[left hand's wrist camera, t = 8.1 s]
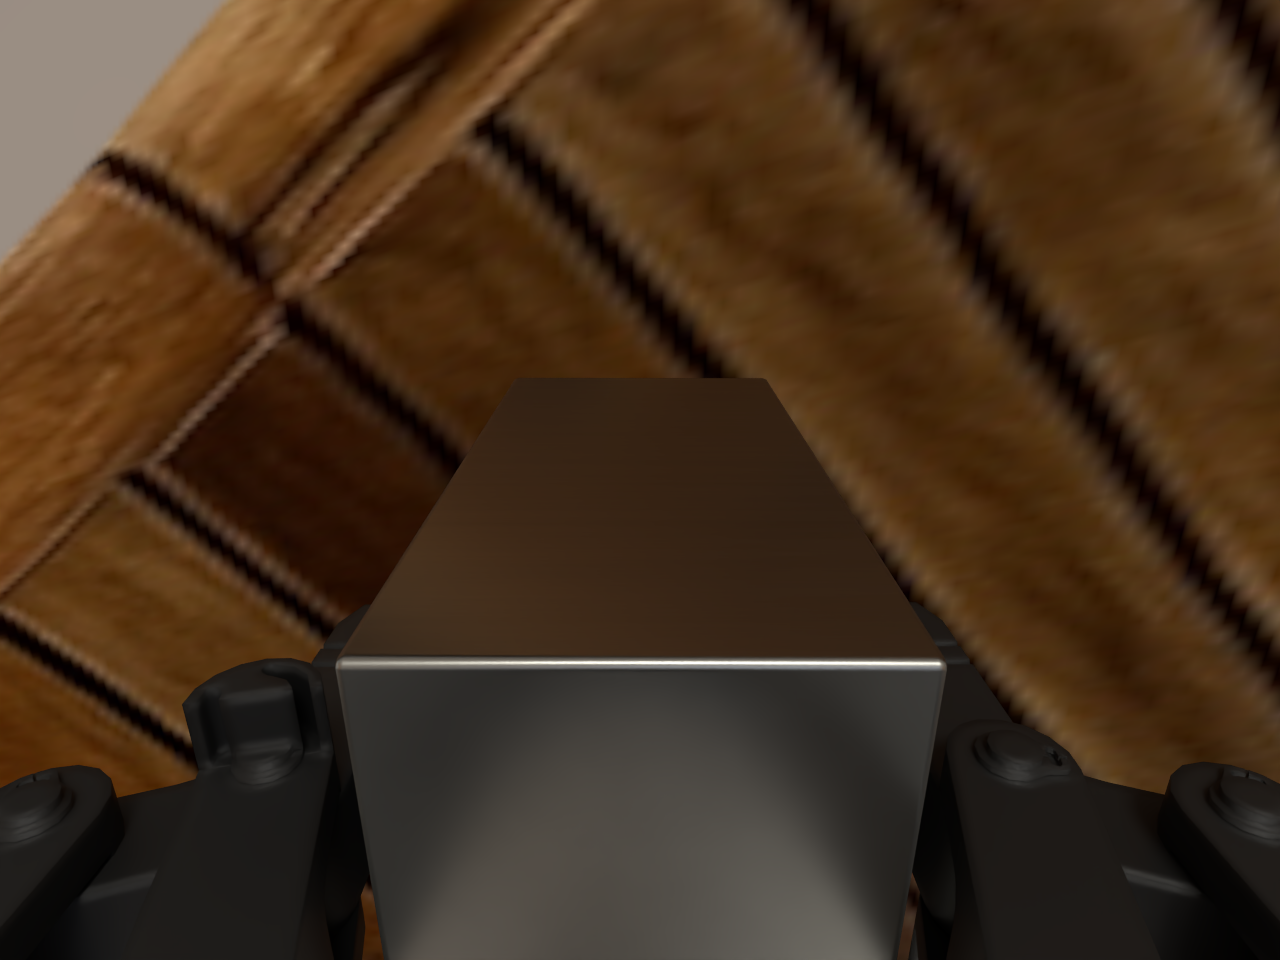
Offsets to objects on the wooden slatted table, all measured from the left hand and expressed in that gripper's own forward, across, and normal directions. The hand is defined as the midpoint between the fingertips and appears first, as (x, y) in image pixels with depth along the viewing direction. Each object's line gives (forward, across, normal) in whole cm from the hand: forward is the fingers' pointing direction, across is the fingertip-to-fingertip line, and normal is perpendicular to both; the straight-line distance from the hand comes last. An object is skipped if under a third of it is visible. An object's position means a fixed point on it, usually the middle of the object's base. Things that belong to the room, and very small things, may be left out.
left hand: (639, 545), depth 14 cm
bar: (+1, 0, -10) cm, 10 cm away
